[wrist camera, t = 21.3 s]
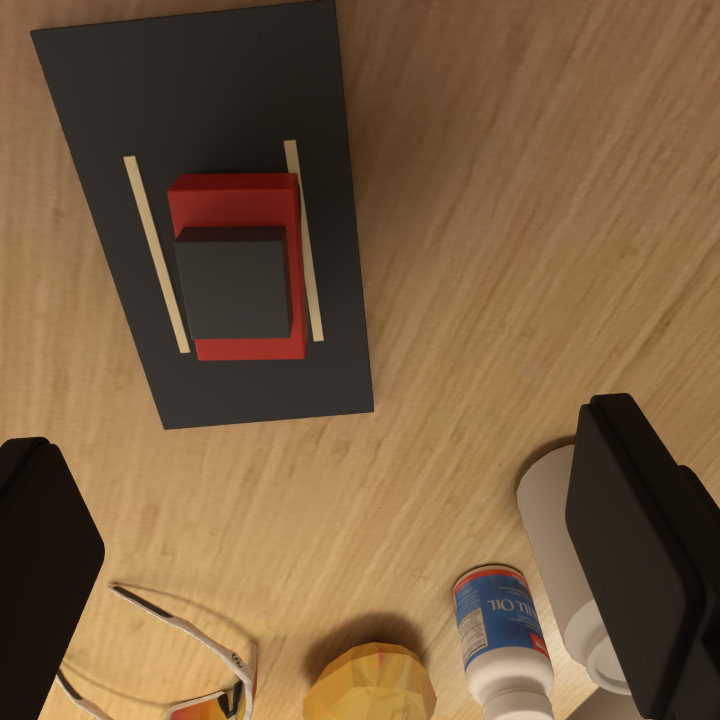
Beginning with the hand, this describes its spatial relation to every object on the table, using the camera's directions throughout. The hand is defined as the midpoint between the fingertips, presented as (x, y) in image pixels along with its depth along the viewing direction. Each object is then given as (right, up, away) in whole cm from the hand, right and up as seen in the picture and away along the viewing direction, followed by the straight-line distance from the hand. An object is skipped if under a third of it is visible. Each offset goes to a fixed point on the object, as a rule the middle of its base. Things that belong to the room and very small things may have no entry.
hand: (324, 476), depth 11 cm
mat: (-5, +7, +18) cm, 20 cm away
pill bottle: (+10, -14, +32) cm, 37 cm away
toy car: (-2, +6, +15) cm, 16 cm away
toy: (+1, -23, +38) cm, 45 cm away
